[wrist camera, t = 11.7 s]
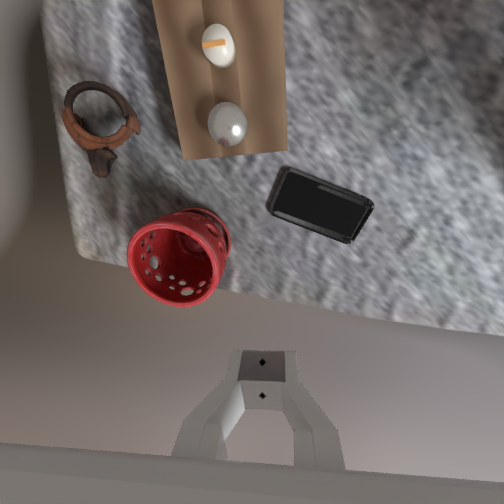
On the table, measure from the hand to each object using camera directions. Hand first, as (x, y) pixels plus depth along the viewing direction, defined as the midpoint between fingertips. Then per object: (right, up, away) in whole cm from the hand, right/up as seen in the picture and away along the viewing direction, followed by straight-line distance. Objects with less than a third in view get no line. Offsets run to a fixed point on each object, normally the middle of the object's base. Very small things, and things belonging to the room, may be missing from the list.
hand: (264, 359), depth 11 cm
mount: (-3, +30, +20) cm, 36 cm away
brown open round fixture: (-22, +23, +26) cm, 41 cm away
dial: (-4, +28, +16) cm, 32 cm away
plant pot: (-10, +8, +32) cm, 34 cm away
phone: (+10, +13, +28) cm, 32 cm away
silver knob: (-3, +23, +23) cm, 33 cm away
